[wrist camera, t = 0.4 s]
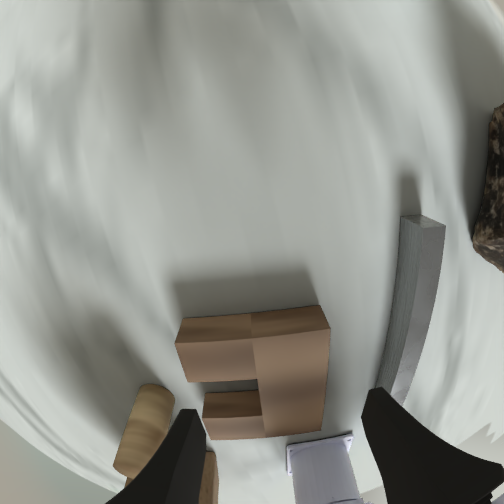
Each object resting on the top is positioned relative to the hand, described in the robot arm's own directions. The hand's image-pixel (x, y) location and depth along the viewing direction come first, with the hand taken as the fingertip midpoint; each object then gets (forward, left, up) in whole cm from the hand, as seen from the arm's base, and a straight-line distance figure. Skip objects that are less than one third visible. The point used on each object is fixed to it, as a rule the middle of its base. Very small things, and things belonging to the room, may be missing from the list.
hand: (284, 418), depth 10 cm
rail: (-7, -11, -10) cm, 16 cm away
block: (-7, +1, -10) cm, 12 cm away
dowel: (-10, +11, -10) cm, 18 cm away
